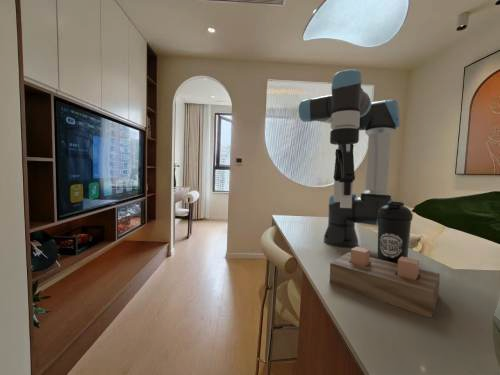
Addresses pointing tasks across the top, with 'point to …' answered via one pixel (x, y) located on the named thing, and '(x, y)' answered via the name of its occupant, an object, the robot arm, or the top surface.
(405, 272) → the peg
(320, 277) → the top surface
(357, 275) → the socket block
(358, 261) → the peg
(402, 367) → the top surface
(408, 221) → the water bottle
